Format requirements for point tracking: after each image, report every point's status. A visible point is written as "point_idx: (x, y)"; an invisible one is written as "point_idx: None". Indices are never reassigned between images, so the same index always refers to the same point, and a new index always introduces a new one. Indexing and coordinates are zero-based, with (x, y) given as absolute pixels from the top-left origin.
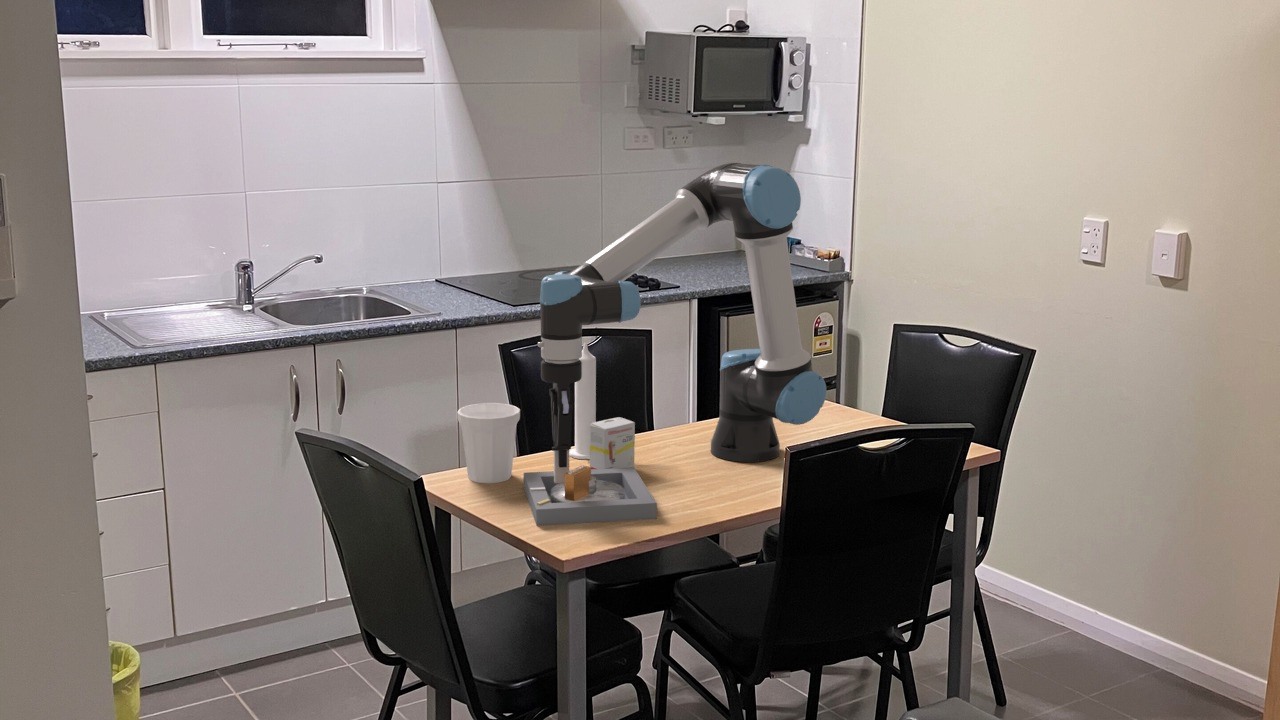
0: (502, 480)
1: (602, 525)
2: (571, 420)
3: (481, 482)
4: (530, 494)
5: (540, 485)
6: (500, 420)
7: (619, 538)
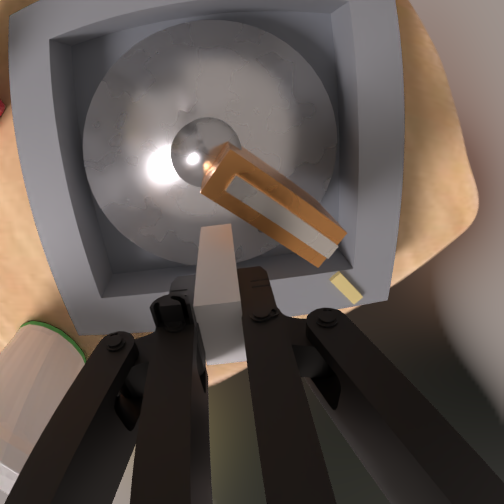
0: (63, 348)
1: None
2: (476, 455)
3: None
4: None
5: None
6: None
7: (424, 92)
